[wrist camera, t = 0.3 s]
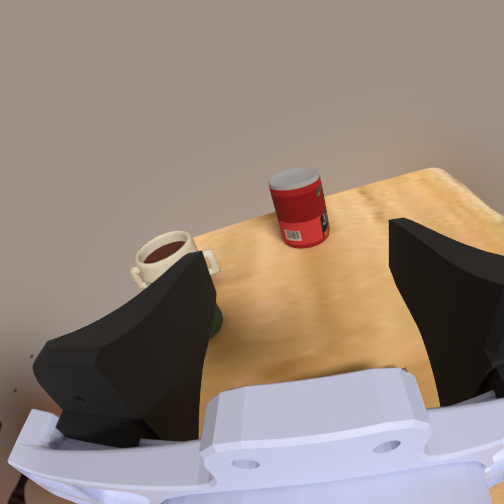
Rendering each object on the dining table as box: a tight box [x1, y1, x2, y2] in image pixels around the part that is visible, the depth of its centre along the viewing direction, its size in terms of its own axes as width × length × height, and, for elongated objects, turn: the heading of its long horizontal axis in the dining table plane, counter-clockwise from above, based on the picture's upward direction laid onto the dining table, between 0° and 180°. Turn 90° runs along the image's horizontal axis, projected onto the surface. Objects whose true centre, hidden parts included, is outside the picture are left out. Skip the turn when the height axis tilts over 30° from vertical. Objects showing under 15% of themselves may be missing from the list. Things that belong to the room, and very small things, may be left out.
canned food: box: [268, 167, 330, 248], centre depth 50 cm, size 8×8×11 cm
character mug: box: [130, 230, 223, 338], centre depth 38 cm, size 11×7×13 cm, turn 90°
